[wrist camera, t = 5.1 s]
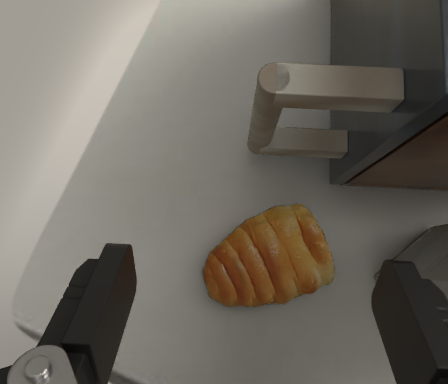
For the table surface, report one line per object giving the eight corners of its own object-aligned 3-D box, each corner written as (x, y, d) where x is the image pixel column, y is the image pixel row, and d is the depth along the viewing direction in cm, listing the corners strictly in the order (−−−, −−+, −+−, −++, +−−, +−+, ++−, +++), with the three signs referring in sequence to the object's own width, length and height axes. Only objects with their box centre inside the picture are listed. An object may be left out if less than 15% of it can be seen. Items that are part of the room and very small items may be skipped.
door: (244, 179, 30) (261, 85, 14) (253, -15, 33) (276, -271, 17) (342, 184, 30) (472, 95, 14) (342, -12, 33) (447, -266, 17)
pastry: (223, 327, 28) (222, 337, 25) (189, 243, 30) (184, 240, 26) (337, 277, 29) (353, 279, 25) (299, 197, 30) (309, 187, 26)
